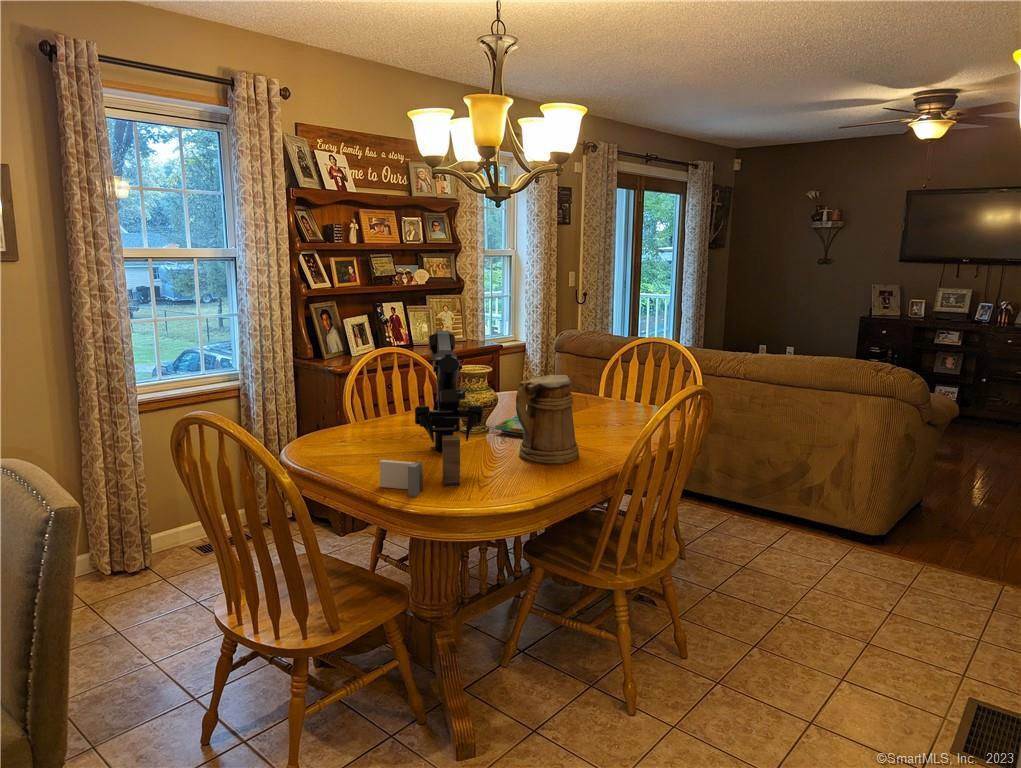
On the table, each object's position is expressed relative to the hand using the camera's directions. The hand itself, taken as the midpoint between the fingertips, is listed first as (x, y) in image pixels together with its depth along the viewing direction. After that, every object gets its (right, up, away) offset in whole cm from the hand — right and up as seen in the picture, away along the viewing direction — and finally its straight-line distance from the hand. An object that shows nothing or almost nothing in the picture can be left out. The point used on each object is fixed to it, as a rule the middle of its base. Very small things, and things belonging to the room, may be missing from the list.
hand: (450, 441), depth 193 cm
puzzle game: (+21, -1, +54) cm, 58 cm away
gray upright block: (-8, -13, -11) cm, 19 cm away
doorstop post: (0, -11, -2) cm, 12 cm away
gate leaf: (-12, -12, -6) cm, 18 cm away
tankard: (+27, -7, +23) cm, 36 cm away
